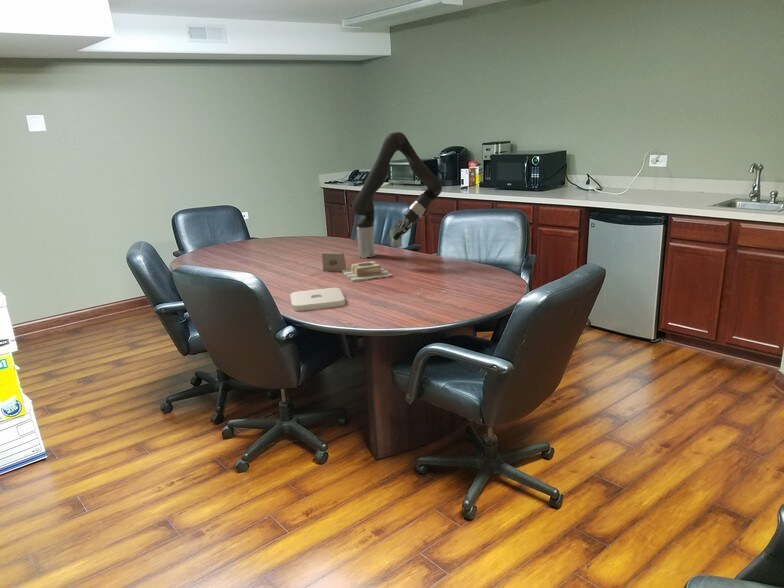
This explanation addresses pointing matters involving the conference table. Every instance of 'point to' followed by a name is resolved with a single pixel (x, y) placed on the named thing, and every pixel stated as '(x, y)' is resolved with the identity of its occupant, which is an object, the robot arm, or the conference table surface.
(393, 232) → the post
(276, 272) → the conference table surface
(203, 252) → the conference table surface
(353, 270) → the stand
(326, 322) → the conference table surface
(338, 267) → the fossil
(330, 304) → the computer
